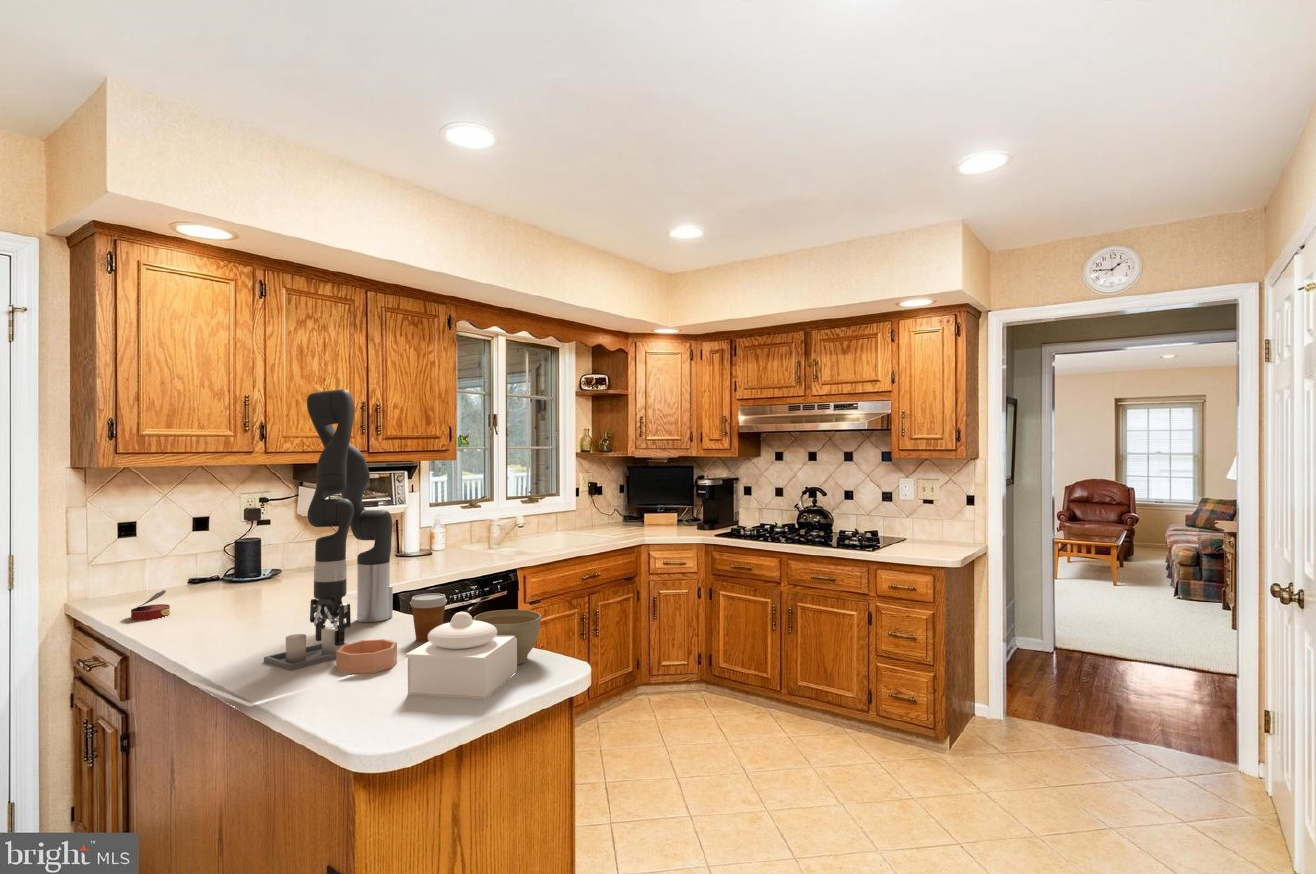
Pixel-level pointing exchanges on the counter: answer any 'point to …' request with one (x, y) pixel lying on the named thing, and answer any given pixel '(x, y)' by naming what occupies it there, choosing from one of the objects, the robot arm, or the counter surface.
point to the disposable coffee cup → (427, 614)
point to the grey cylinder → (295, 648)
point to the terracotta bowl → (367, 656)
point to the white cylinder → (328, 641)
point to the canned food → (150, 610)
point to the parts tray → (311, 658)
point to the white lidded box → (462, 660)
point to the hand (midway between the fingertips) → (329, 642)
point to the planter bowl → (515, 627)
